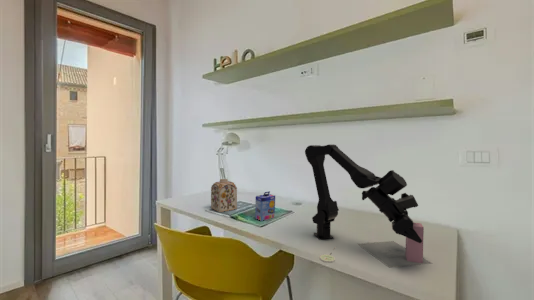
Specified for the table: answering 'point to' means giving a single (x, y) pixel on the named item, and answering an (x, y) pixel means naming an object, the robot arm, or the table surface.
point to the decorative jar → (223, 196)
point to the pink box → (415, 245)
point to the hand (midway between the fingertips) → (418, 237)
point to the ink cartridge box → (265, 207)
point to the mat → (390, 253)
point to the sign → (327, 258)
